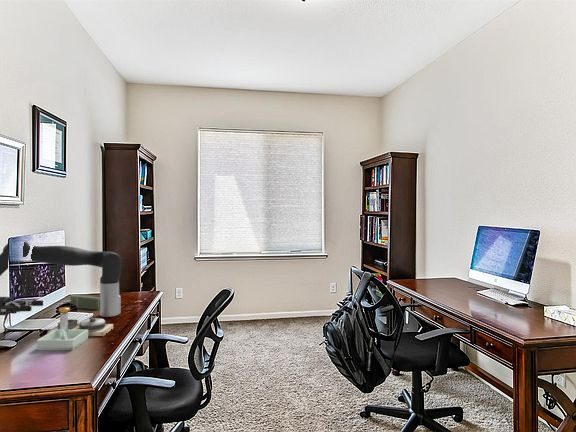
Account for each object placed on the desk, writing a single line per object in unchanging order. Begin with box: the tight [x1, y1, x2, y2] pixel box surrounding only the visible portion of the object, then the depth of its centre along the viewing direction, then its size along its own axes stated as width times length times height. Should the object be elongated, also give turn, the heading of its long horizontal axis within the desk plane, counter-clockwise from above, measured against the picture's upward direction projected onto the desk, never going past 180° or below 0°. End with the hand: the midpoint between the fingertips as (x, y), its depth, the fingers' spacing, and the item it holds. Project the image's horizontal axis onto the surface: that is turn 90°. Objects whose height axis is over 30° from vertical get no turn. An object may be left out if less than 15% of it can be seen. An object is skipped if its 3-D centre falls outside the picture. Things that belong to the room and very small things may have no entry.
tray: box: [36, 330, 89, 351], centre depth 169 cm, size 14×14×4 cm
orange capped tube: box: [58, 306, 71, 340], centre depth 169 cm, size 4×4×14 cm
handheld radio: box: [70, 294, 100, 311], centre depth 228 cm, size 7×3×25 cm
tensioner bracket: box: [46, 317, 114, 337], centre depth 185 cm, size 24×12×6 cm, turn 93°
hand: (37, 305), depth 168 cm, fingers open, 8 cm apart
